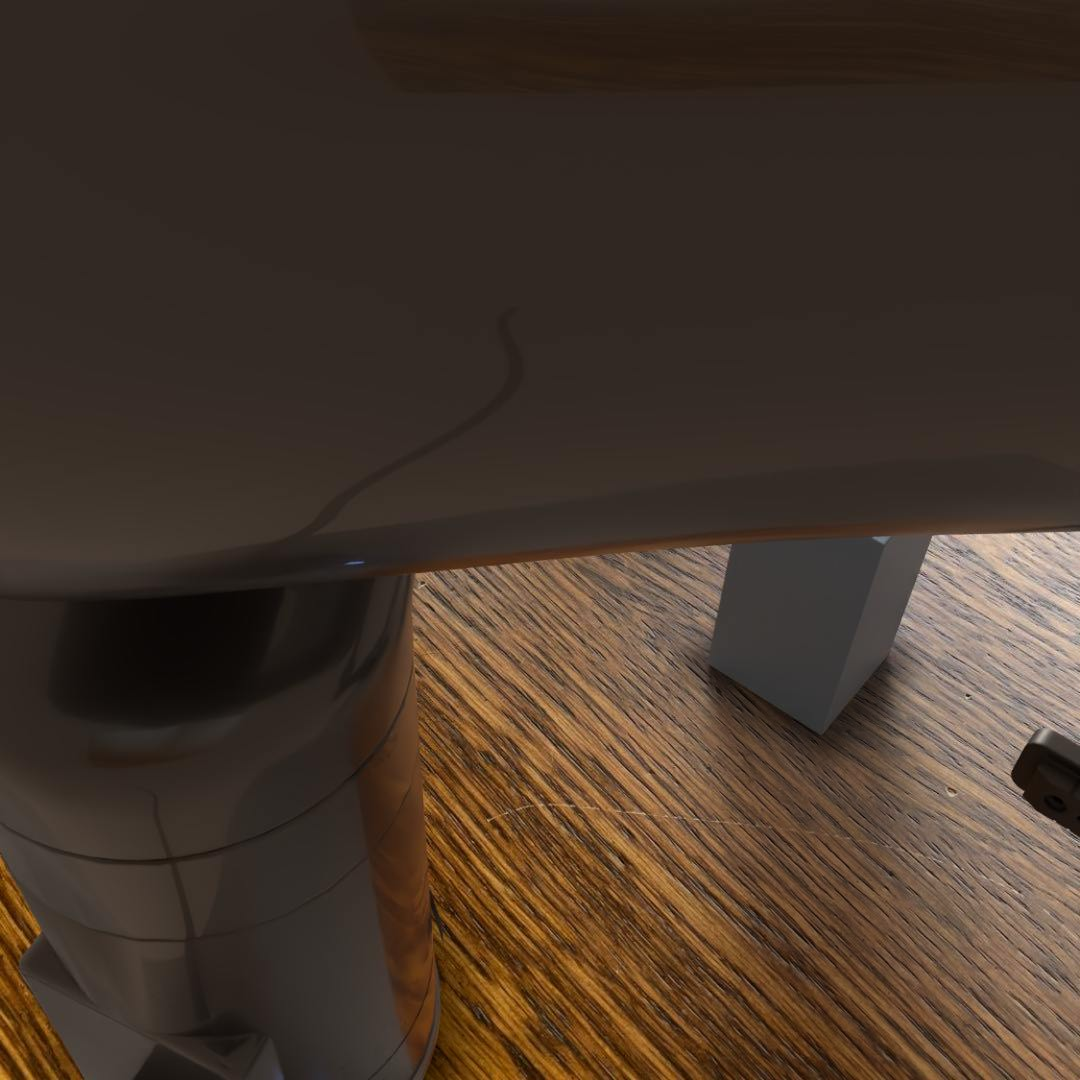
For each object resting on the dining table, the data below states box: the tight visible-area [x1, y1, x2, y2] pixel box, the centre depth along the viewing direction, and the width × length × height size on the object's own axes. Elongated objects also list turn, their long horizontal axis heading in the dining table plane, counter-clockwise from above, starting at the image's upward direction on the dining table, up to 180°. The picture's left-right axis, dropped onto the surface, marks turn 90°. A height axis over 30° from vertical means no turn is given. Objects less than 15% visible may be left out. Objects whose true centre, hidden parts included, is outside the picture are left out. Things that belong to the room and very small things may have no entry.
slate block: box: [706, 535, 934, 736], centre depth 44 cm, size 5×5×10 cm
